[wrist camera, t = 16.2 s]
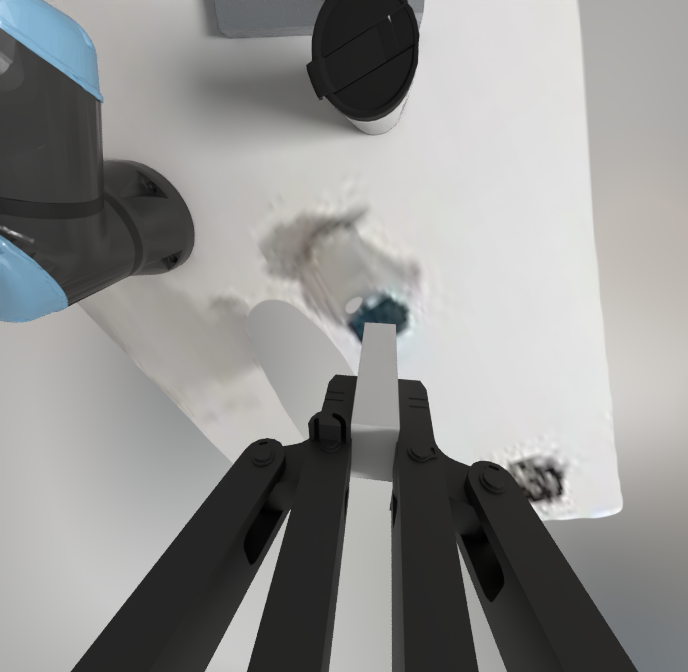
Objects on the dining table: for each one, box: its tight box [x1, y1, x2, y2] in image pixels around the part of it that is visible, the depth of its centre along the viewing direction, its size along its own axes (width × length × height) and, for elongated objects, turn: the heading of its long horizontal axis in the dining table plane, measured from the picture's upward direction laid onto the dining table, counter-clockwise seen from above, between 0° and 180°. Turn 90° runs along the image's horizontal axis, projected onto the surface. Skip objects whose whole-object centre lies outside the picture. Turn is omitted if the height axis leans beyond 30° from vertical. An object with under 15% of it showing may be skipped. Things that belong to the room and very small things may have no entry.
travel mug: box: [306, 0, 419, 135], centre depth 25 cm, size 6×7×20 cm
